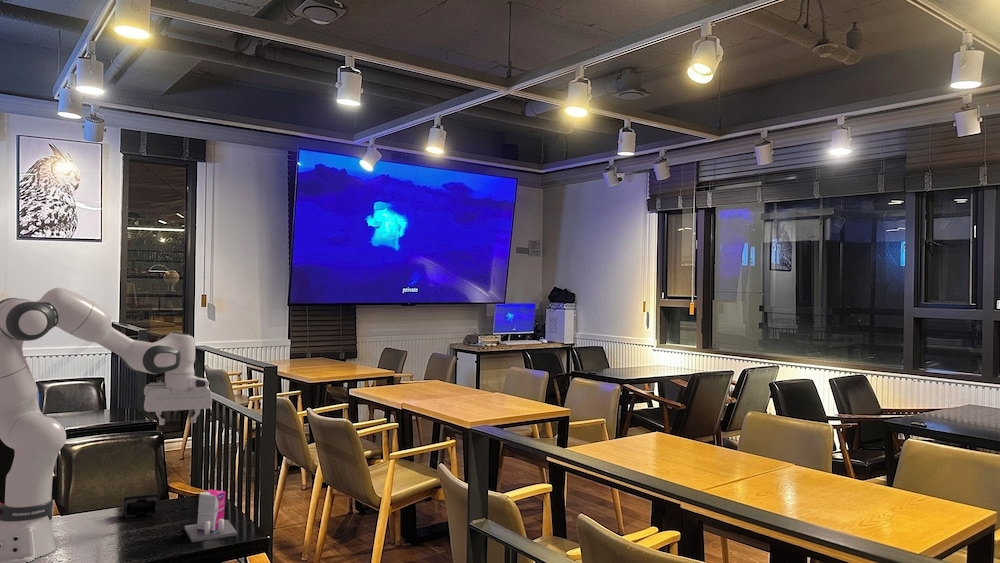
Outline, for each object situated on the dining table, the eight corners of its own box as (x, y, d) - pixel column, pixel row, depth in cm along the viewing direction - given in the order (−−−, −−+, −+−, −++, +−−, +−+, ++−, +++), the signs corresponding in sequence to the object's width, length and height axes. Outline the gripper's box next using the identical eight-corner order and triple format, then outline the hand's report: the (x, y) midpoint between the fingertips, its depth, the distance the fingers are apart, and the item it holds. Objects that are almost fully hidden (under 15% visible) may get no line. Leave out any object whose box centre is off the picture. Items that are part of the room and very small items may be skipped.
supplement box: (213, 533, 218) (215, 495, 218) (196, 531, 219) (198, 493, 219) (224, 526, 223) (226, 490, 223) (207, 524, 224) (209, 488, 224)
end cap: (156, 511, 238) (157, 491, 238) (157, 518, 232) (158, 497, 232) (123, 515, 233) (123, 494, 233) (123, 521, 227) (124, 500, 227)
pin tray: (192, 542, 212) (192, 525, 212) (184, 528, 223) (185, 513, 223) (237, 535, 219) (237, 519, 219) (227, 522, 230) (228, 507, 230)
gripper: (145, 384, 224) (143, 427, 224) (214, 381, 235) (212, 423, 235) (143, 381, 229) (141, 424, 229) (210, 379, 240) (208, 419, 240)
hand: (177, 423), depth 232 cm, fingers open, 8 cm apart
